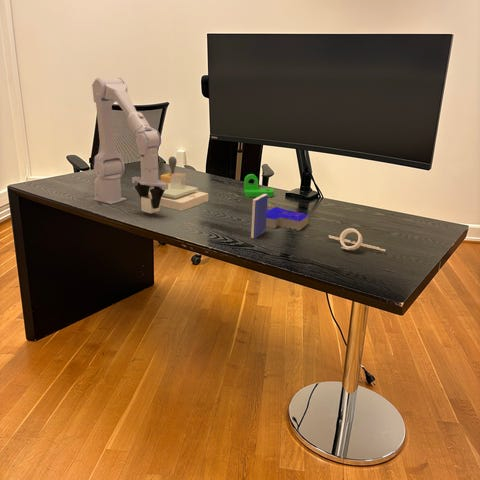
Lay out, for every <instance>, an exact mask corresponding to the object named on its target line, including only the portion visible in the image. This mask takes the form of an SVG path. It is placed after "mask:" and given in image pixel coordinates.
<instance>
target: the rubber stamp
mask: <svg viewBox="0 0 480 480" xmlns="http://www.w3.org/2000/svg"><path fill="white" fill-rule="evenodd" d="M168 165H169V168H170V172H171V173H170V172H169V173H164V174H161V175H160V181H163V182H165V183H170V175H172V174H174V173H175V169H176V167H177V158H176V157H175V156H169V158H168Z"/></svg>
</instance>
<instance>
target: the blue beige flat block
mask: <svg viewBox="0 0 480 480" xmlns="http://www.w3.org/2000/svg"><path fill="white" fill-rule="evenodd" d="M308 221H309V214H307V213H305V212H299V211H294V210H288V209H284V208H281V207H279V206H276V207H272V208H270V209H268V208H267V217H266V228H270V229H274V228H275V229H276V228H278V227H279V226H281V227H280V228H284V227H286V228H285V229H289V228H291V229H290V230H294V229H296V230H295V231H299V230H300V231H301V230H302V229H303V228H305V227H306V226H307V225H308V224H309V223H308ZM277 226H278V227H277Z"/></svg>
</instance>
